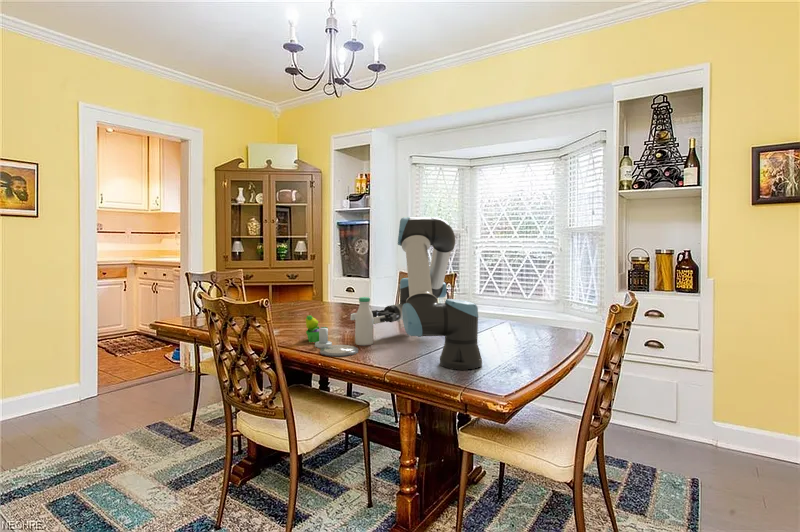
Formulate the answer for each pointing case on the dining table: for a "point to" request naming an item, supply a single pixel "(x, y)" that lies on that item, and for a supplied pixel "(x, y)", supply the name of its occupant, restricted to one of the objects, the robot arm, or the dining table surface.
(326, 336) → the small pipe fitting
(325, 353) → the grey plate
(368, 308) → the milk bottle
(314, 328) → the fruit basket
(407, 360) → the dining table surface
